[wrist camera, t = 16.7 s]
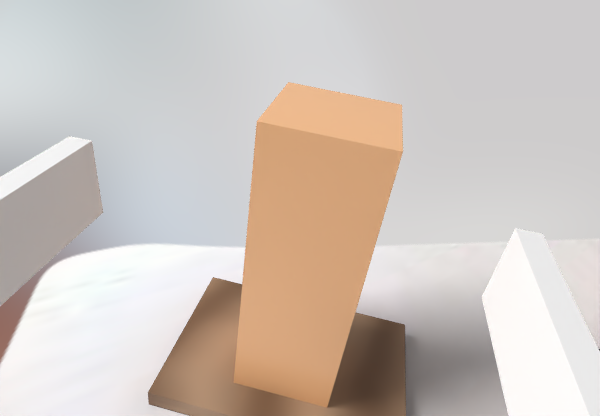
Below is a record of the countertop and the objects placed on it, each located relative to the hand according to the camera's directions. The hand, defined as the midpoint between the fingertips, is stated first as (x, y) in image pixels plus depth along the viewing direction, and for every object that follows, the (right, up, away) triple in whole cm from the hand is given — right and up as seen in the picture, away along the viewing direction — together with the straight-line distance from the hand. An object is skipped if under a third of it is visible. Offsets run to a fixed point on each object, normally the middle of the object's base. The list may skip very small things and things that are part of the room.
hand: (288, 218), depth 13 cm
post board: (0, -11, +17) cm, 21 cm away
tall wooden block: (0, -10, +17) cm, 19 cm away
